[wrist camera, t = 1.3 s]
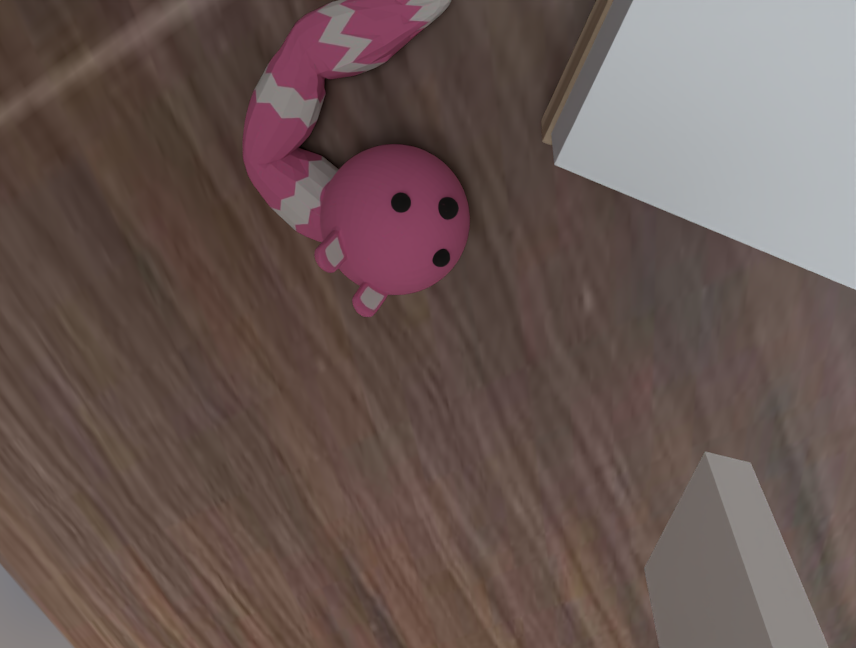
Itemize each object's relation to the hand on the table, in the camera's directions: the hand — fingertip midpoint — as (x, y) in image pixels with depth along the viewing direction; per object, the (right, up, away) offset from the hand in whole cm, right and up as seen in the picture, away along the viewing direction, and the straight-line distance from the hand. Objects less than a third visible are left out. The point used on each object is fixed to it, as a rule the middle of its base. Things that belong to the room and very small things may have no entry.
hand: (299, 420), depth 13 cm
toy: (0, +10, +20) cm, 22 cm away
